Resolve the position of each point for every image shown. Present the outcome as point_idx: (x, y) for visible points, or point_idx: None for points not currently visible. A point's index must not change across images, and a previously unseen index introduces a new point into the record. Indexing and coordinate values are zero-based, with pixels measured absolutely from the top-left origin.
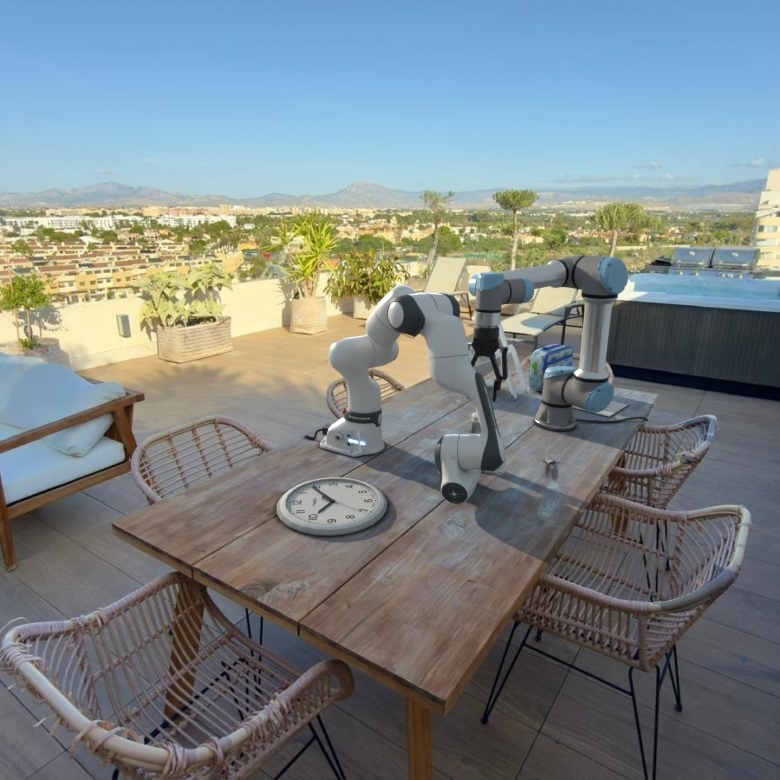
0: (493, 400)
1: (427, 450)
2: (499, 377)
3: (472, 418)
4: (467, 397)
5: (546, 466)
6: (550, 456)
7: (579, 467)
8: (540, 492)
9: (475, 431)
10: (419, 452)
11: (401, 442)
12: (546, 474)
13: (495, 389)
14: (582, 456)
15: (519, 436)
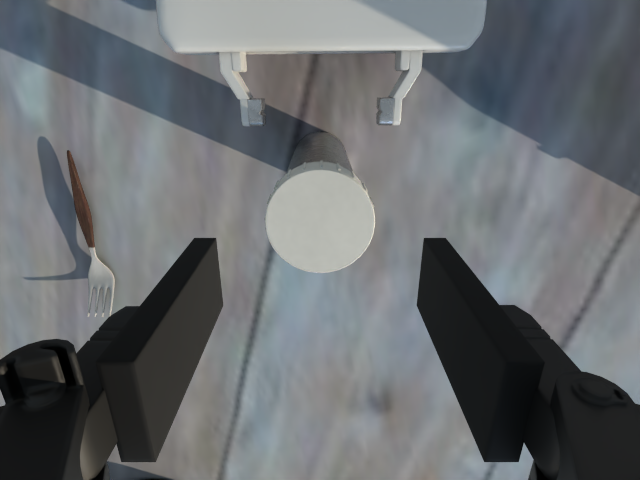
0: (204, 242)
1: (511, 210)
2: (8, 420)
3: (362, 185)
4: (441, 240)
5: (87, 217)
6: (98, 295)
7: (4, 266)
8: (52, 12)
9: (333, 158)
10: (539, 183)
11: (614, 242)
12: (69, 155)
13: (152, 294)
14: (23, 345)
15: (235, 414)
